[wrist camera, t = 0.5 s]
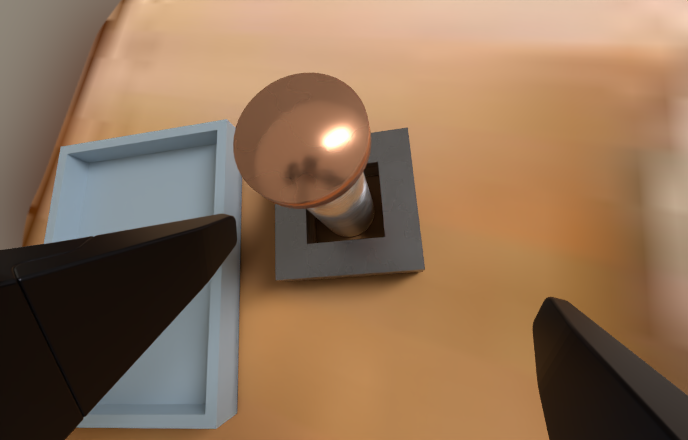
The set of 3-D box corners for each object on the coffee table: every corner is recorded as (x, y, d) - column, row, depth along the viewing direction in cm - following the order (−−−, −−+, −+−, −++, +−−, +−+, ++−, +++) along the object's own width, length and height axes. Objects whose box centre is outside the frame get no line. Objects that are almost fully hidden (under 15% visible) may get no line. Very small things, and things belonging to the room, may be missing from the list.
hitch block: (422, 271, 22) (424, 269, 19) (288, 281, 23) (275, 280, 21) (407, 143, 24) (407, 127, 22) (286, 160, 26) (274, 147, 23)
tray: (237, 413, 22) (216, 428, 19) (51, 413, 25) (11, 426, 22) (242, 135, 27) (226, 119, 25) (89, 158, 30) (60, 146, 27)
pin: (388, 244, 23) (374, 193, 11) (315, 250, 24) (231, 209, 12) (381, 173, 24) (363, 61, 12) (312, 181, 25) (234, 85, 13)
